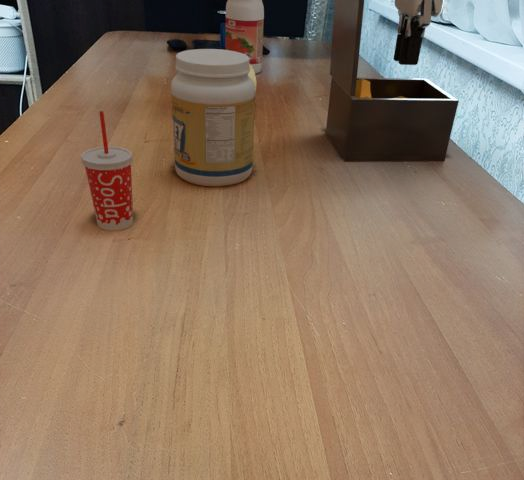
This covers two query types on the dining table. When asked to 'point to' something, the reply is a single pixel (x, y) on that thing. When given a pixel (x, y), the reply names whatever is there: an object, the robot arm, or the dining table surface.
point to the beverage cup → (110, 183)
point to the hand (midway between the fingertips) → (405, 61)
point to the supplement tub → (213, 117)
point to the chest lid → (346, 43)
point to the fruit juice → (246, 29)
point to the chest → (391, 121)
